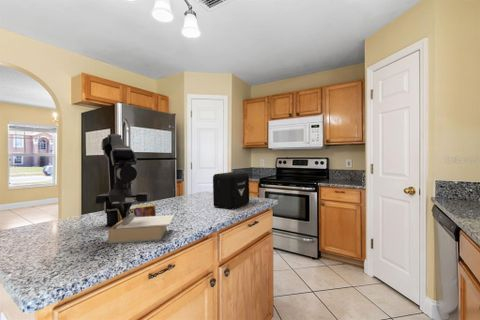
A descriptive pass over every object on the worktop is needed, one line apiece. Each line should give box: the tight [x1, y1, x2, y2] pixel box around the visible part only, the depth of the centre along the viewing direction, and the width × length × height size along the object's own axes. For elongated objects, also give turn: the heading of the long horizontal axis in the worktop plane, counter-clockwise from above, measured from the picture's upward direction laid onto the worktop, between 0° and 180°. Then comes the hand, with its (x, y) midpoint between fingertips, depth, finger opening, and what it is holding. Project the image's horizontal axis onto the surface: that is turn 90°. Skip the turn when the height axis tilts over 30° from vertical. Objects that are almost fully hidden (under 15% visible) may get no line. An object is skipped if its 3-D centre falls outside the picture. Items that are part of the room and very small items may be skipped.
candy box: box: [118, 203, 157, 222], centre depth 104 cm, size 9×4×15 cm
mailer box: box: [107, 220, 168, 245], centre depth 91 cm, size 18×13×5 cm
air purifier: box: [212, 171, 250, 210], centre depth 144 cm, size 20×15×20 cm
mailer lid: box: [116, 213, 175, 229], centre depth 92 cm, size 19×14×3 cm
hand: (124, 219), depth 90 cm, fingers closed
